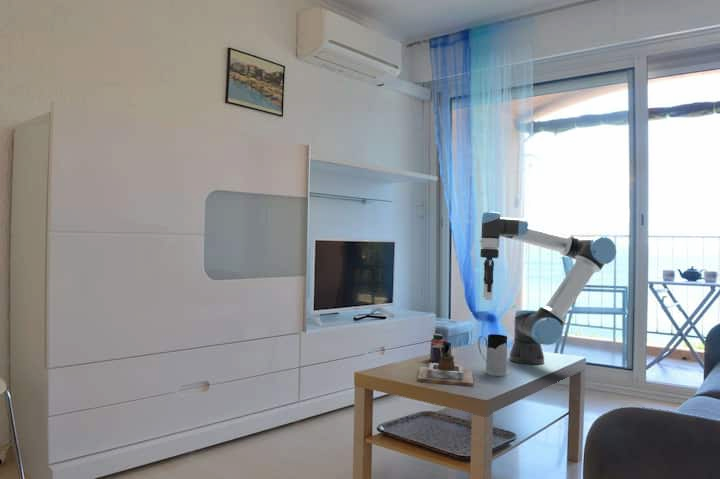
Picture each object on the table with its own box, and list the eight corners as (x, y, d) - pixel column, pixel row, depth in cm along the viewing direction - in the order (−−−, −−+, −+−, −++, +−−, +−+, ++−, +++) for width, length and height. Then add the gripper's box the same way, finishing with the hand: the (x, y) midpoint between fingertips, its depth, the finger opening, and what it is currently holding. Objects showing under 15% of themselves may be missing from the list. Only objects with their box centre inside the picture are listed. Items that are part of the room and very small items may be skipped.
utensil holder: (455, 376, 201) (456, 344, 201) (438, 375, 201) (439, 343, 202) (452, 372, 207) (454, 341, 207) (436, 372, 207) (437, 340, 208)
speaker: (449, 363, 228) (448, 339, 228) (452, 367, 222) (451, 342, 222) (431, 364, 228) (430, 340, 228) (434, 368, 222) (433, 343, 222)
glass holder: (497, 376, 210) (499, 338, 210) (469, 368, 221) (471, 332, 222) (511, 374, 215) (513, 337, 215) (484, 367, 226) (486, 331, 227)
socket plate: (471, 373, 213) (471, 364, 213) (473, 386, 193) (473, 376, 193) (420, 369, 216) (420, 360, 216) (417, 381, 196) (417, 371, 196)
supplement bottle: (427, 360, 235) (428, 334, 235) (433, 358, 240) (434, 332, 240) (440, 362, 231) (441, 336, 232) (445, 360, 236) (447, 334, 237)
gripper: (479, 248, 241) (476, 295, 241) (482, 248, 216) (479, 300, 216) (496, 249, 240) (494, 296, 239) (501, 248, 215) (499, 301, 215)
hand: (487, 298), depth 228 cm, fingers open, 13 cm apart
